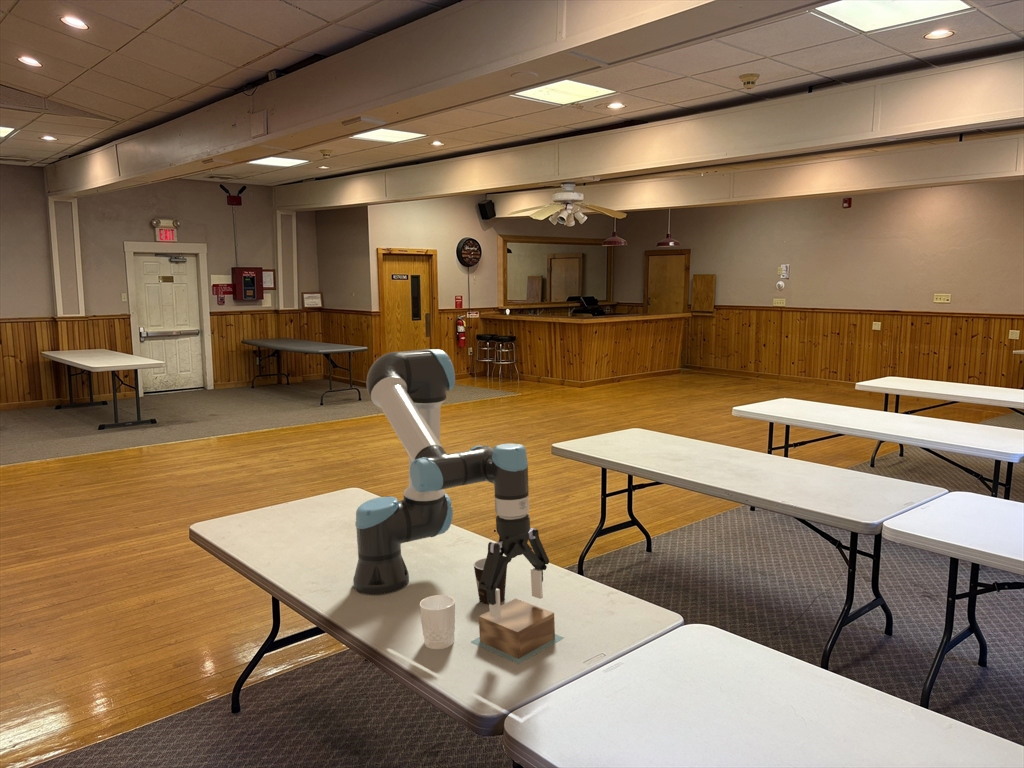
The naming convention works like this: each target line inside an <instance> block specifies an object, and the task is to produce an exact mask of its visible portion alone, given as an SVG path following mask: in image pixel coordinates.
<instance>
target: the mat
mask: <svg viewBox="0 0 1024 768" xmlns="http://www.w3.org/2000/svg"><path fill="white" fill-rule="evenodd" d="M563 639H565V637H564V636H561V635H559V634H556V633H555V638H554V639H552V640H551V641H549V642H547V643H545V644H544V645H542V646H540V647H538V648H537V649H535V650H533V651H531V652H530V653H528V654H526V655H524V656H523V657H521V658H519V659H518V658H516V657H513V656H511V655H509V654H507V653H504V652H502V651H500V650H498V649H496V648H493V647H491V646H489V645H487V644H485V643H482V642H480V636H479V637H477V638H475V639H473V640H471V641H470V643H471V644H474V645H476V646H478V647H480V648H483V649H485V650H487V651H489V652H492V653H494V654H496V655H498V656H500V657H503V658H504V659H506V660H509V661H511V662H514V663H516V664H517V665H519V664H522V663H524V662H525V661H527V660H529V659H531V658H532V657H534V656H535V655H537V654H538V653H541V652H542V651H544V650H546V649H548V648H549V647H551V646H553V645H554V644H556V643H558V642H560V641H562V640H563Z"/></svg>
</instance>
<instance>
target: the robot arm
mask: <svg viewBox="0 0 1024 768" xmlns="http://www.w3.org/2000/svg"><path fill="white" fill-rule="evenodd" d="M455 373H456V372H455V368H454V365H453V363H452V360H451V358H450V356H449V355H448V353H446V352H445V351H444V350H442V349H437V348H435V349H430V348H424V349H415V350H405V351H392V352H391V351H390V352H387V353H384V354H382V355H381V356H380V357H378V358H377V359H375V360H374V362H373V363H372V364H371V366H370V368H369V369H368V372H367V376H366V383H365V384H366V390H367V393H368V396H369V399H370V400H371V401H372V403H373V405H375V406H376V407H377V408H380V409H381V411H382V412H383V414H384V415H385V416H384V417H386V419H387V421H388V422H389V423H390V426H391V427H392V429H393V431H394V432H395V434H396V436H397V438H398V439H399V441H400V442H401V445H402V446H403V448H404V449H405V452H407V453H406V454H408V487H406V488H405V489H404V490H403V499H402V500H398V498H397V497H395V496H381V497H380V496H379V497H376V498H372V499H369V500H367V501H365V502H363V503H362V504H360V505H359V506H358V507H357V508H356V511H355V524H354V525H355V529H356V530H355V531H356V542H357V555H358V557H357V558H358V560H357V563H356V567H355V572H354V575H353V580H352V583H353V589H354V590H355V592H358V593H360V594H363V595H375V596H376V595H385V594H391V593H394V592H395V593H396V592H397V591H400V590H402V589H404V588H405V587H406V586H407V585H408V584H409V582H410V576H409V575H410V573H409V570H408V568H407V565H406V563H405V560H404V558H403V555H402V544H405V543H409V542H415V541H418V540H422V539H427V538H434V537H435V538H436V537H437V536H438V535H442V534H445V533H446V532H448V530H449V529H450V527H451V525H452V522H453V516H454V512H453V511H454V510H453V509H454V508H453V506H452V505H453V503H452V500H451V498H450V496H449V494H448V493H446V490H447V489H450V488H451V489H452V488H456V487H462V486H467V485H472V484H478V483H483V482H488V483H491V484H493V487H494V502H495V503H494V504H495V507H494V508H495V509H494V510H495V515H496V517H495V527H496V528H495V529H496V533H497V534H498V536H499V537H498V541H497V542H492V541H489V542H488V544H487V555H486V557H485V558H486V561H485V565H484V568H483V572H482V575H481V579H480V583H479V588H482V589H484V590H487V602H488V604H487V605H488V607H489V611H490V616H491V617H493V618H496V619H501V607H500V606H501V602H500V589H497V587H498V584H499V582H500V580H501V578H502V575H503V573H504V571H505V569H506V567H507V568H508V564H509V563H511V562H512V559H514V558H516V557H518V556H522V555H523V556H524V557H525V559H526V560H527V561H528V562H529V563H530V565H531V566H532V567H531V568H530V581H531V582H530V584H531V597H533V598H537V599H539V600H541V599H543V598H544V597H543V595H544V594H543V582H544V571H546V570H547V566H548V565H549V563H550V559H549V557H548V554H547V553H546V551H545V550H546V549H545V548H544V546H543V543H542V541H541V539H540V534H539V529H537V528H532V527H531V516H530V515H529V513H530V500H529V499H530V498H529V497H530V494H529V491H530V490H529V461H528V455H527V454H528V453H527V449H526V447H525V446H524V445H523V444H521V443H520V444H519V443H500V444H498V445H495V446H494V447H491V446H488V445H475V446H473V447H471V448H470V449H469V450H465V451H460V452H454V453H447V451H446V450H445V449H444V447H443V446H442V444H441V415H442V413H441V410H442V409H441V406H442V404H443V403H444V402H446V401H447V392H449V391H452V390H453V389H454V388H455V387H454V386H455V384H456V383H455V382H456V374H455ZM528 542H529V544H530V545H529V544H528ZM492 582H493V584H492Z"/></svg>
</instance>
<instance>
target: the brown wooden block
mask: <svg viewBox="0 0 1024 768" xmlns="http://www.w3.org/2000/svg"><path fill="white" fill-rule="evenodd" d="M500 607H501V619H496V618H493V617H491V616H490V610H489V611H486V612H484V613H482V614H480V615H479V616H478V627H479V631H478V632H479V637H480V642H482V643H485V644H487V645H489V646H491V647H493V648H496V649H498V650H500V651H502V652H504V653H507V654H509V655H511V656H513V657H516V658H518V659H519V658H521V657H523V656H524V655H526V654H528V653H530V652H531V651H533V650H535V649H537V648H538V647H540V646H542V645H544V644H545V643H547V642H549V641H551V640H552V639H554V638H555V634H556V633H555V632H556V629H555V628H556V627H555V612H553V611H551V610H548V609H546V608H542V607H540V606H538V605H534V604H532V603H529V602H526V601H524V600H520V599H519V598H513V599H512V600H509V601H507V602H505V603H504V604H500Z"/></svg>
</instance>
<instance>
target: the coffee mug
mask: <svg viewBox="0 0 1024 768" xmlns="http://www.w3.org/2000/svg"><path fill="white" fill-rule="evenodd" d="M486 558H487V557H483V558H479V559H477V560H476V561H474V562H473V569H474V574H475V581H476V587H477V593H478V599H479V603H482V604H484V605H489V604H488V602H487V590H484V589H482V588H479V583H480V579H481V575H482V572H483V568H484V565H485V561H486ZM507 570H508V566H507V567H506V569H505V571H504V573H503V575H502V578H501V580H500V582H499V584H498V587H497V589H500V603H502V602H504V600H505V597H506V583H507ZM492 584H493V582H492Z"/></svg>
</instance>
